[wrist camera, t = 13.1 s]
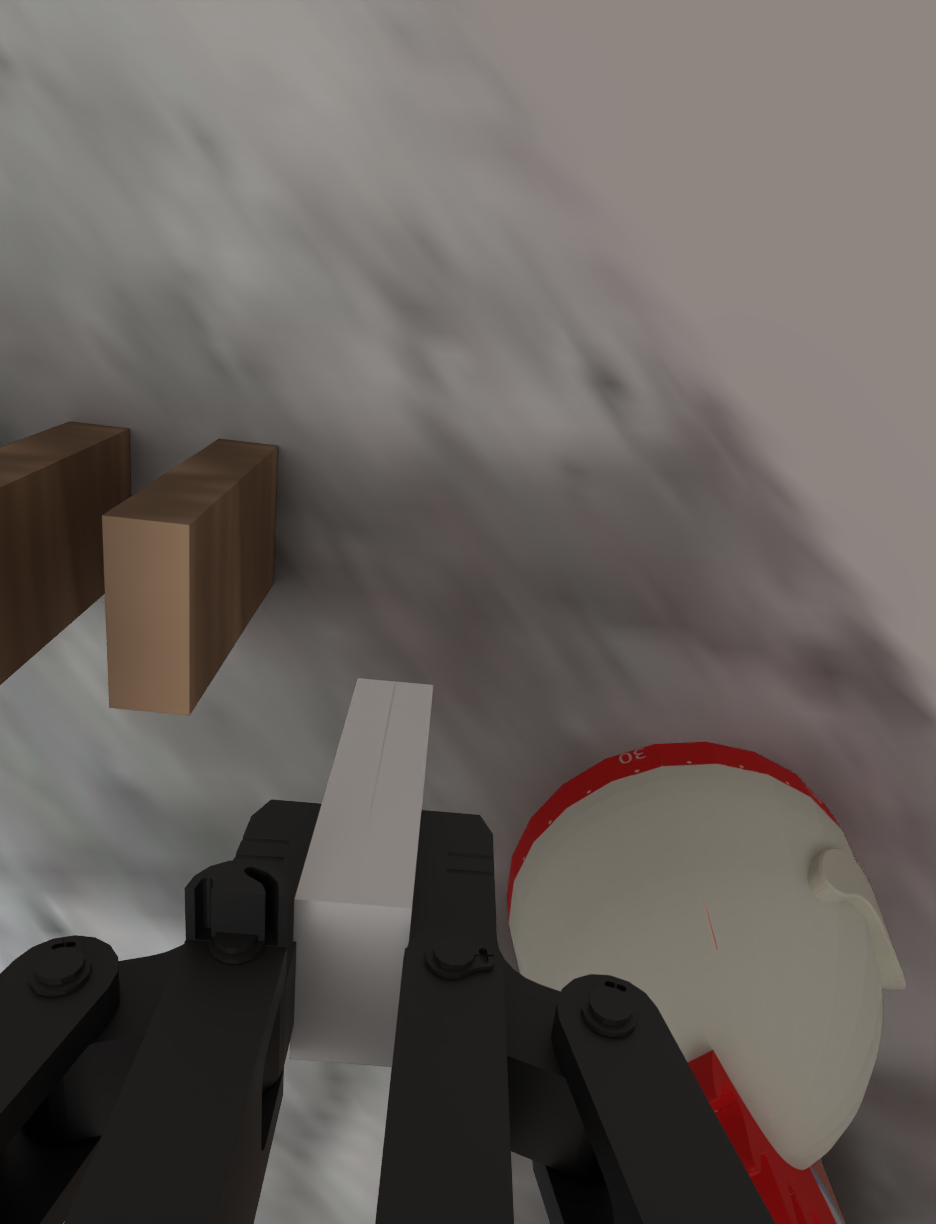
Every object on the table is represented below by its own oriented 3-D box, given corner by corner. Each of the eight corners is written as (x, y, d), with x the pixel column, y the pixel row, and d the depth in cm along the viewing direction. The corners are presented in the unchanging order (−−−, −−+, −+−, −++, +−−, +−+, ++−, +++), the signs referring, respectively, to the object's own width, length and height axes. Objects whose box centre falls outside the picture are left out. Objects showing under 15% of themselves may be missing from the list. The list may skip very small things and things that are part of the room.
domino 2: (278, 445, 29) (189, 525, 20) (273, 584, 31) (189, 715, 22) (219, 439, 29) (101, 515, 20) (217, 578, 31) (109, 707, 22)
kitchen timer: (621, 1060, 40) (702, 1488, 26) (441, 856, 36) (421, 1233, 22) (900, 916, 37) (1165, 1313, 23) (739, 677, 33) (939, 980, 19)
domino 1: (129, 428, 29) (-31, 501, 20) (132, 568, 31) (-12, 695, 22) (69, 421, 29) (-120, 491, 20) (76, 562, 31) (-94, 687, 22)
